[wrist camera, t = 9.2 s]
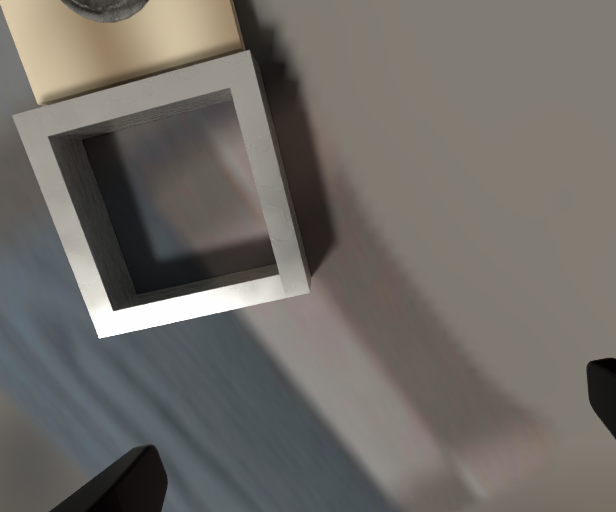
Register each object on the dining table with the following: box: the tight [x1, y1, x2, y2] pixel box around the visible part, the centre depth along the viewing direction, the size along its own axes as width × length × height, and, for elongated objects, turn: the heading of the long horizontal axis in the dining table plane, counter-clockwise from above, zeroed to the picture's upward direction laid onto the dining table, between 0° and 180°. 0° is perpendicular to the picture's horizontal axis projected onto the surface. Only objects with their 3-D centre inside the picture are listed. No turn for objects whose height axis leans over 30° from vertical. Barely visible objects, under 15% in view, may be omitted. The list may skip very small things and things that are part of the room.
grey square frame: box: [12, 50, 311, 338], centre depth 19 cm, size 11×11×2 cm
